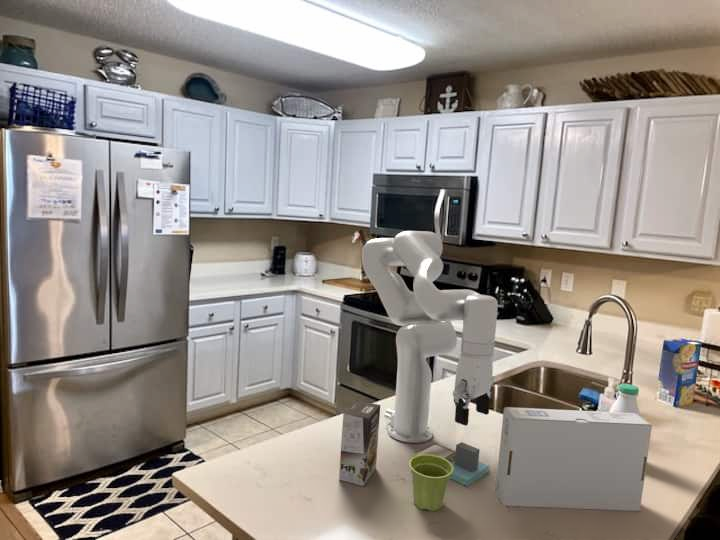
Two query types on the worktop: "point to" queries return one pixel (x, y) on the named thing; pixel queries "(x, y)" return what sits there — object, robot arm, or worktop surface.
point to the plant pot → (429, 480)
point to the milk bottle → (626, 400)
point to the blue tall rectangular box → (678, 372)
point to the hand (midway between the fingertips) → (472, 418)
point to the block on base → (467, 464)
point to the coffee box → (359, 442)
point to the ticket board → (439, 452)
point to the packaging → (572, 459)
